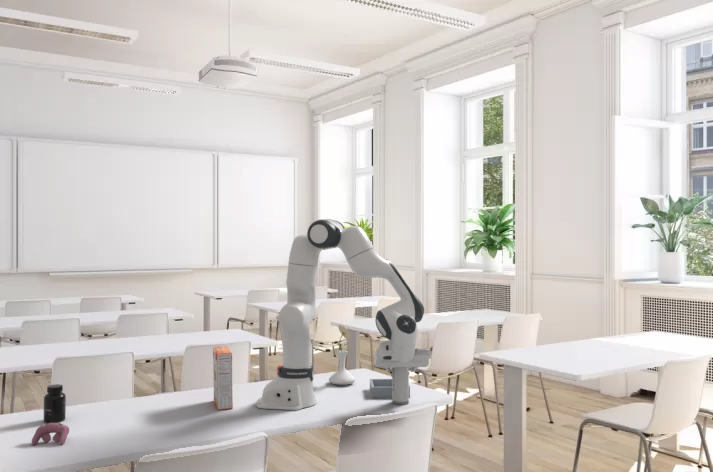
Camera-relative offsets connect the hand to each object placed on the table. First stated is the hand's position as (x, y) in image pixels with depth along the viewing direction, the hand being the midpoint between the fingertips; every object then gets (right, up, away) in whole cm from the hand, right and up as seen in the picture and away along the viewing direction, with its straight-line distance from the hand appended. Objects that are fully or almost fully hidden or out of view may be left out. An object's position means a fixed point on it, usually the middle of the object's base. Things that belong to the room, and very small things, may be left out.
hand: (400, 370), depth 235 cm
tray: (-3, -12, +14) cm, 19 cm away
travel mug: (0, -12, 0) cm, 13 cm away
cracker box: (-67, -13, -3) cm, 68 cm away
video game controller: (-111, -13, -45) cm, 120 cm away
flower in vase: (-23, -12, +31) cm, 40 cm away
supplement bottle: (-120, -13, -22) cm, 123 cm away
